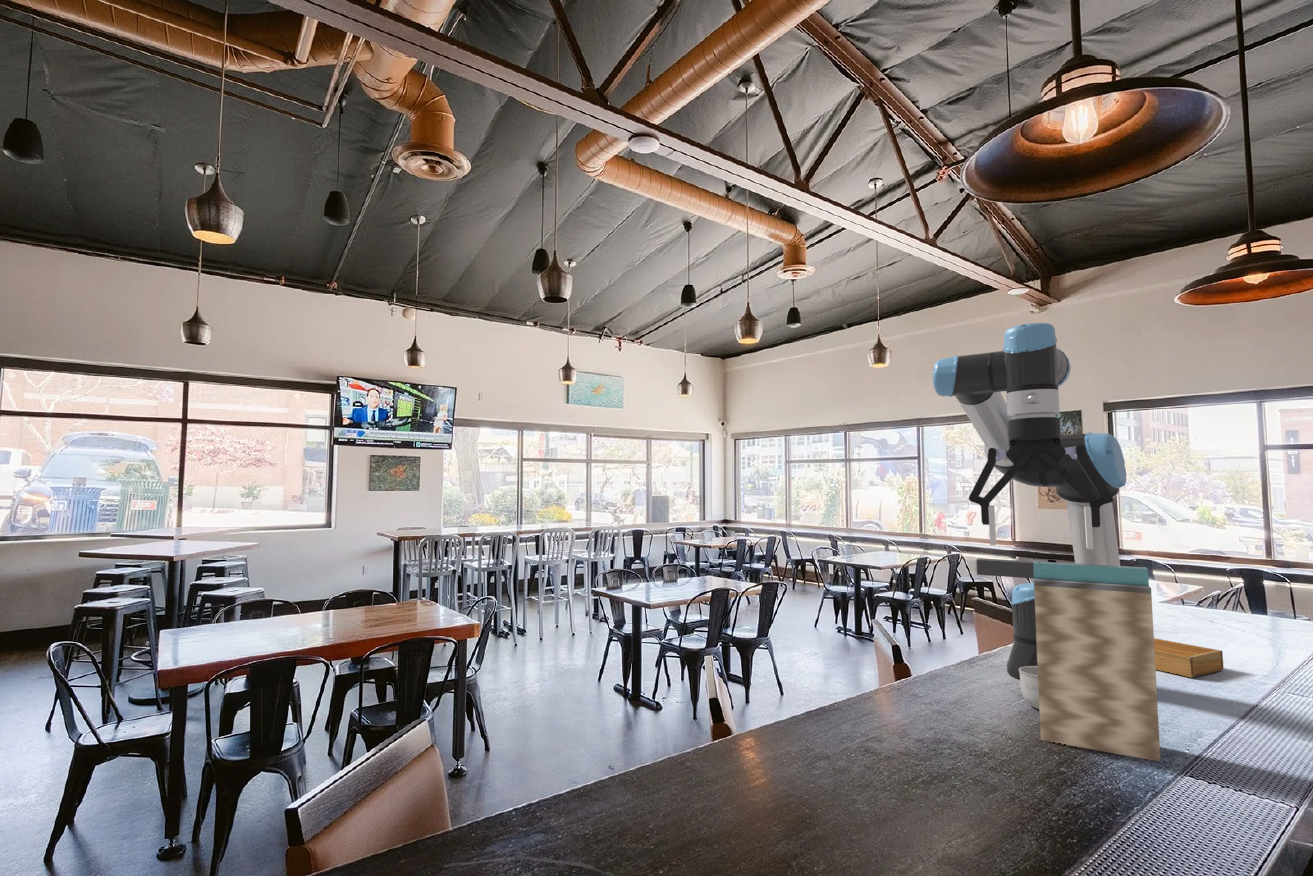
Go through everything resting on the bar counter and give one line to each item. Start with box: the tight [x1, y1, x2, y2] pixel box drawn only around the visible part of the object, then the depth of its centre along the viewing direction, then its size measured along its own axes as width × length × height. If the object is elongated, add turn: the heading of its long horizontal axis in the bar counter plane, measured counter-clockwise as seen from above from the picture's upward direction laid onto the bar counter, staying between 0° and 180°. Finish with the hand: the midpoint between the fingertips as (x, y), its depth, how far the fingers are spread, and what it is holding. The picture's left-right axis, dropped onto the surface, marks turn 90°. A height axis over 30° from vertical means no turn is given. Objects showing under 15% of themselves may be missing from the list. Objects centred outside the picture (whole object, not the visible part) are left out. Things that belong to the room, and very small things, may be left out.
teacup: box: [1019, 666, 1039, 710], centre depth 138 cm, size 14×11×8 cm
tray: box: [1154, 637, 1224, 679], centre depth 175 cm, size 31×15×6 cm, turn 25°
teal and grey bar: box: [976, 557, 1150, 586], centre depth 124 cm, size 28×3×3 cm, turn 59°
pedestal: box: [1033, 578, 1162, 762], centre depth 121 cm, size 18×8×30 cm, turn 59°
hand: (1039, 546), depth 105 cm, fingers open, 13 cm apart
